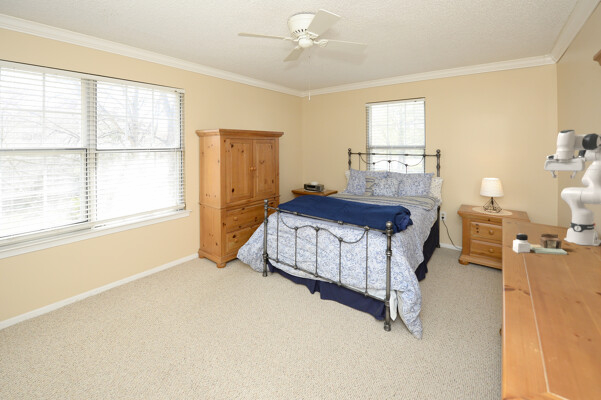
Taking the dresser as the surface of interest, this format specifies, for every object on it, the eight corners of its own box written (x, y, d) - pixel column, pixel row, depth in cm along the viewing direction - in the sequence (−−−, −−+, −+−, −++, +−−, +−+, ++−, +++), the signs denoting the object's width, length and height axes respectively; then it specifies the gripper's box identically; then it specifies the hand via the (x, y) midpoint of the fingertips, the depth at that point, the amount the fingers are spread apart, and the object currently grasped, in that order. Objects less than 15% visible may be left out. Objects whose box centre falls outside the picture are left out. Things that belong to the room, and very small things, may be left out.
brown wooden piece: (556, 245, 201) (557, 234, 200) (561, 248, 195) (561, 237, 193) (540, 244, 204) (540, 233, 203) (543, 247, 198) (544, 236, 197)
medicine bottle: (530, 253, 195) (531, 235, 194) (517, 253, 197) (518, 235, 195) (524, 250, 202) (525, 233, 201) (512, 250, 204) (513, 233, 202)
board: (556, 249, 202) (557, 245, 201) (566, 256, 188) (567, 252, 188) (527, 247, 208) (528, 243, 207) (535, 254, 194) (535, 250, 193)
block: (552, 248, 201) (553, 239, 200) (555, 250, 197) (556, 241, 196) (544, 247, 203) (545, 239, 202) (547, 249, 198) (547, 241, 198)
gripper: (588, 155, 183) (586, 178, 185) (548, 156, 201) (547, 177, 203) (583, 155, 180) (581, 179, 182) (543, 156, 198) (542, 177, 200)
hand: (563, 178), depth 192 cm, fingers open, 8 cm apart
